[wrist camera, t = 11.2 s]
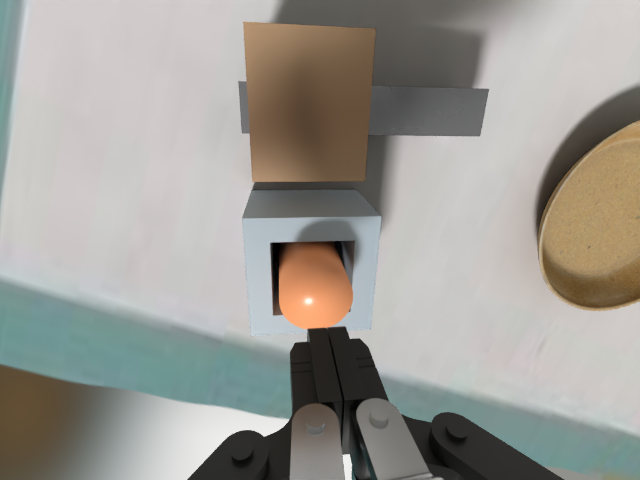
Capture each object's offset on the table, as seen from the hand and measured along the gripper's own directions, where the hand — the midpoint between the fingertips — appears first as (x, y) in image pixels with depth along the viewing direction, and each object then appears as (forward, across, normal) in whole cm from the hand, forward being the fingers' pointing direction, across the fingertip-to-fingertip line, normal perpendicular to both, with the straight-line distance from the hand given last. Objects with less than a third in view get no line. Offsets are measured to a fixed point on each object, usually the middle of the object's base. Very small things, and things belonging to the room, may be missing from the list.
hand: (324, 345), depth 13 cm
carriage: (+10, 0, -9) cm, 13 cm away
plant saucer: (+12, -24, -2) cm, 26 cm away
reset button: (+9, 0, 0) cm, 9 cm away
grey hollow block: (+11, 0, 0) cm, 11 cm away
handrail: (+11, -3, -9) cm, 14 cm away
